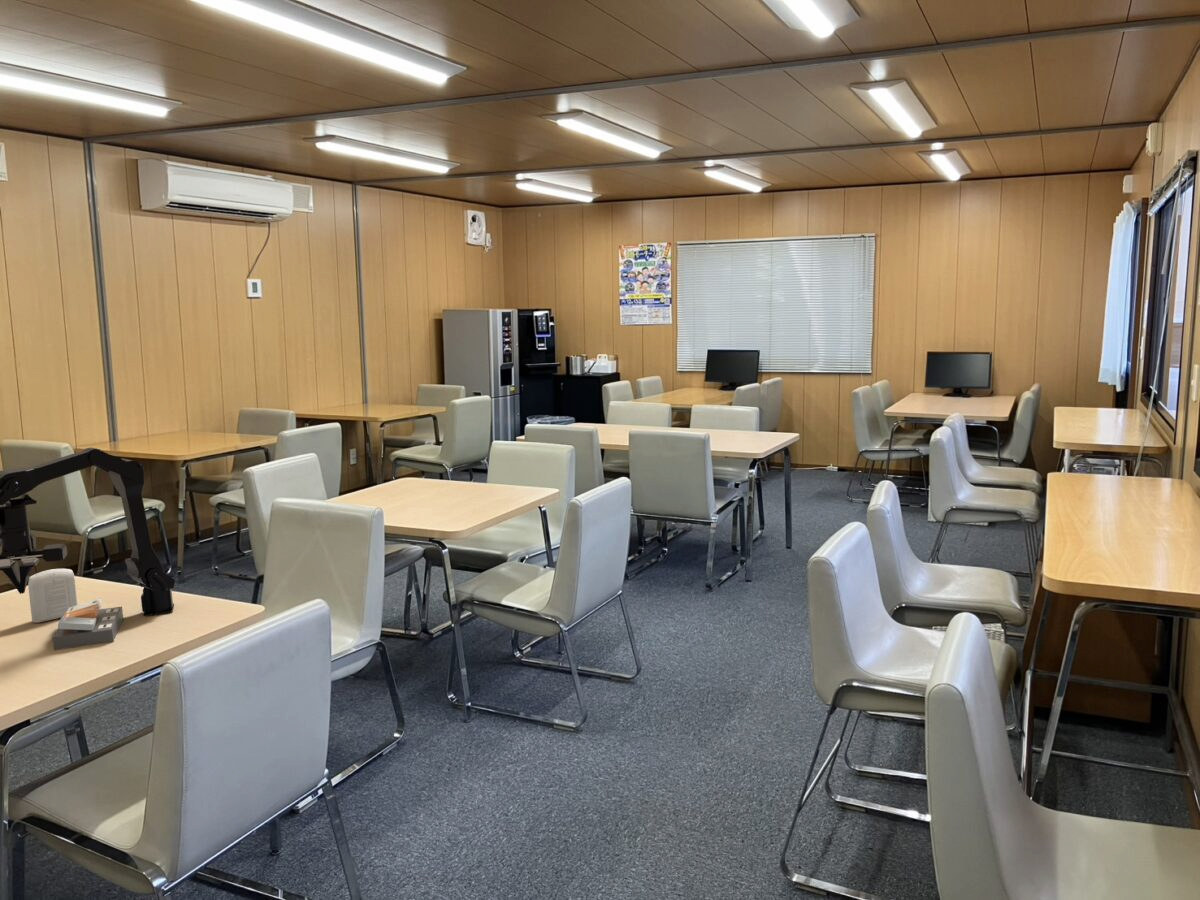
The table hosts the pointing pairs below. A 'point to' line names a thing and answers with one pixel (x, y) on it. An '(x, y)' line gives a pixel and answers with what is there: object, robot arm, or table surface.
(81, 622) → the grey-blue rocker
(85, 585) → the table surface
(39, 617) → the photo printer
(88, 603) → the ivory rocker
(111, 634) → the power strip
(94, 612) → the orange box with knob
